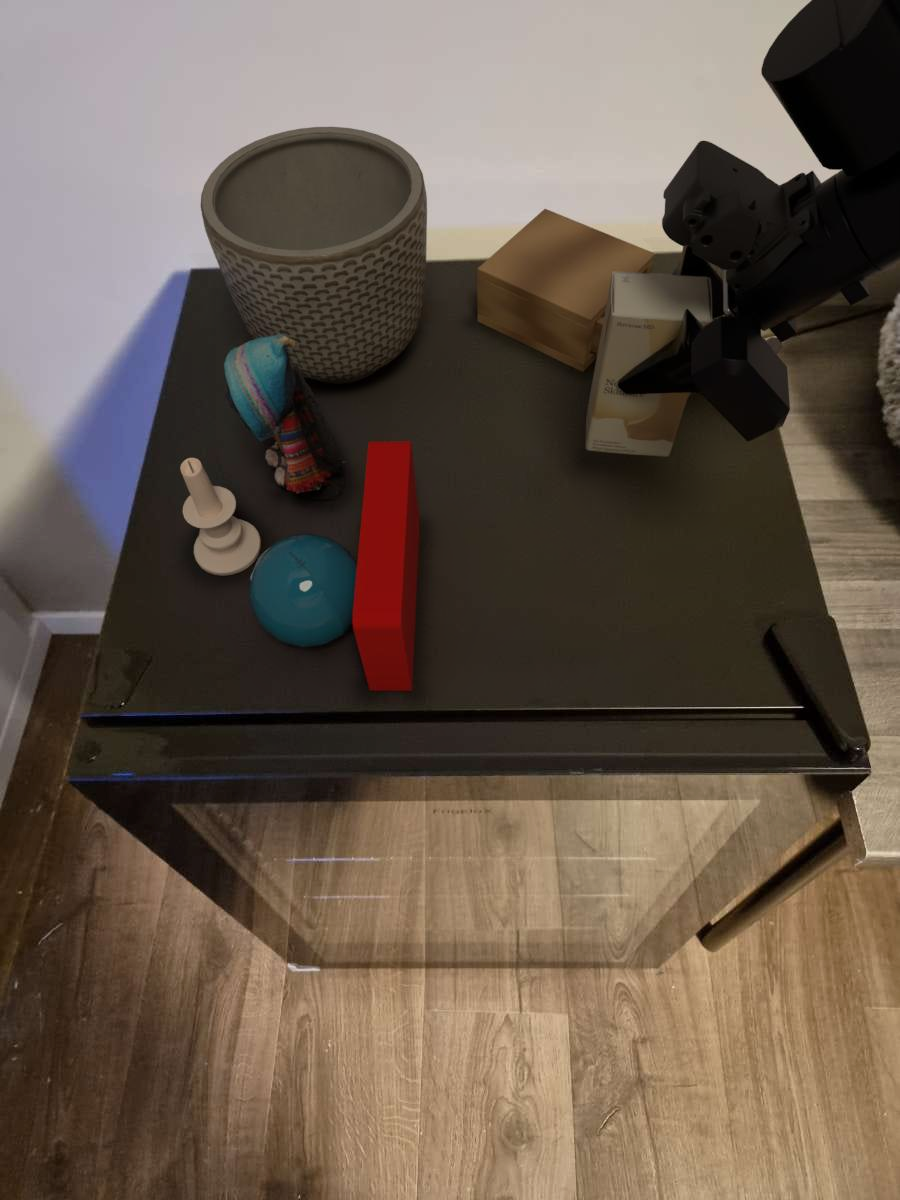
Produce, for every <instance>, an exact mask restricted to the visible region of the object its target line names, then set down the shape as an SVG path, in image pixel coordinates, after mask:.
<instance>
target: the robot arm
mask: <svg viewBox="0 0 900 1200" xmlns="http://www.w3.org/2000/svg"><path fill="white" fill-rule="evenodd" d="M761 65H762V66H761V69H760V70H761V71H760V72H761V73H760V74H761V76H762V77H763V79H764V81H765V82H766V83H767V85H768V87H769V88H770V89H771V91H772V93H773V94H774V96H775V97H776V99H777V100H778V101H779V103H780V105H781V106H782V108H783V109H784V111H785V112H786V114H787V115H788V116H789V118H790V120H791V121H792V123H793V124H794V126H795V127H796V129H797V131H798V132H799V133H800V135H801V137H802V138H803V139H804V141H805V143H806V144H807V145H808V147H809V148H810V150H811V151H812V153H813V154H814V156H815V157H816V159H817V160H818V162H819V164H820V165H821V166H822V167H823V168H825V169H827V170H831V171H832V170H833V171H838V172H837V173H834V174H833V175H831V176H830V177H829V178H826V179H824V181H822V182H821V180H820V179H819V178H818V176H817V174H816V172H815V171H814V170H811V171H810V172H808V173H806V172H800V173H798V174H797V175H795V176H794V177H792V178H791V179H789V180H788V181H786V182H783V183H781V184H778V183H776V182H775V181H773V180H772V179H771V178H769V177H767V176H766V174H764V172H762V171H761V170H760V169H759V168H757V167H755V166H754V165H752V164H750V163H748V162H746V161H745V160H743V159H741V158H739V157H738V156H736V155H734V154H733V153H731V152H729V151H727V150H726V149H723V147H720V146H719V145H716V144H715V143H713V142H711V141H707V140H700V141H698V142H697V144H696V145H695V147H694V148H693V150H691V152H690V154H689V155H688V157H687V158H686V159H685V161H684V162H683V164H682V165H681V167H680V168H679V169H678V171H677V172H676V173H675V175H674V176H673V178H672V179H671V180H670V182H669V183H668V184H667V186H666V187H665V189H664V190H663V196H662V197H663V199H664V200H665V201H664V213H663V216H662V219H661V227H662V231H663V232H664V234H665V235H666V237H668V239H670V240H671V241H673V243H676V244H677V245H679V246H681V247H682V250H681V256H680V260H679V263H678V265H677V266H676V268H675V269H674V270H673V272H672V273H671V275H681V276H697V277H708V278H710V279H711V287H712V322H711V323H709V324H707V325H706V326H704V327H703V325H702V324H701V323H700V322H699V321H698V320H697V319H696V318H695V316H694V315H693V314H692V313H691V312H690V311H689V310H688V309H686V310H685V312H684V315H683V319H682V323H681V326H680V330H679V334H678V336H677V337H676V338H675V339H674V340H672V341H671V342H669V343H668V344H667V345H665V346H664V347H662V348H661V349H660V350H658V351H657V352H655V353H654V354H652V355H651V356H650V357H648V358H647V359H645V360H644V361H643V362H641V363H640V364H638V365H637V366H636V367H634V368H633V369H632V370H630V371H629V372H628V373H627V374H626V375H624V376H623V377H622V378H621V379H620V380H619V381H618V387H619V388H620V389H621V390H622V391H623V392H624V393H625V394H655V393H692V394H701V395H702V396H703V397H704V399H706V400H707V401H708V402H709V404H711V406H712V407H713V408H714V409H715V410H716V411H717V412H718V413H719V414H720V415H721V416H722V417H723V418H724V419H725V420H726V422H728V423H729V424H730V426H732V428H734V430H735V431H736V432H737V433H738V434H739V435H740V436H741V437H742V438H743V439H744V440H745V441H746V442H748V443H749V442H751V441H753V440H756V439H758V438H760V437H762V436H764V435H767V434H768V433H771V432H773V431H775V430H777V429H780V428H782V427H783V426H784V424H785V423H786V420H787V417H788V415H789V413H790V411H791V404H790V387H789V373H788V366H787V365H786V363H785V362H784V361H783V360H782V359H781V358H780V357H779V355H778V354H776V353H775V352H774V351H773V350H772V348H771V347H770V346H769V345H768V344H767V342H766V341H767V340H766V341H765V340H764V339H765V338H764V337H762V331H763V332H766V331H768V330H770V331H771V332H772V334H773V335H774V337H775V338H778V340H779V341H780V342H782V343H783V342H785V341H787V340H789V339H791V338H792V337H794V336H796V335H798V327H797V326H798V325H797V323H798V322H797V318H798V317H800V316H802V315H804V314H807V313H808V312H809V311H811V310H813V309H815V308H817V307H818V306H821V305H822V304H824V303H826V302H828V301H829V300H831V299H833V298H835V297H837V296H839V295H840V294H841V295H842V296H843V297H844V299H846V301H847V302H848V304H849V305H850V306H853V305H855V304H857V303H859V302H861V301H863V300H865V299H867V298H868V297H870V291H869V285H868V280H869V279H870V278H872V277H873V276H876V275H877V274H879V273H880V272H882V271H884V270H886V269H888V268H890V267H892V266H893V265H896V264H897V263H900V0H809V2H808V3H807V4H806V5H805V6H803V7H802V8H801V9H800V10H799V11H798V12H797V13H796V14H795V15H794V16H793V18H791V20H789V21H788V23H787V24H786V25H785V26H784V28H783V29H782V30H781V31H780V32H779V33H778V35H777V36H776V38H775V39H774V41H773V42H772V44H771V45H770V47H769V48H768V50H767V52H766V54H765V57H764V58H763V61H762V64H761ZM723 315H725V316H723Z"/></svg>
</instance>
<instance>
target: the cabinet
mask: <svg viewBox="0 0 900 1200" xmlns="http://www.w3.org/2000/svg"><path fill="white" fill-rule="evenodd" d="M655 255H656V253H655V252H652V251H650V250H648V249H645V248H643V247H640V246H637V245H635V244H633V243H631V242H628V241H626V240H624V239H622V238H621V239H620V238H618V237H615V236H613V235H611V234H608V233H606V232H604V231H601V230H599V229H596V228H594V227H591V226H589V225H587V224H584V223H582V222H580V221H577V220H574V219H572V218H570V217H567V216H565V215H562V214H560V213H557V212H554V211H553V210H549V209H547V208H544V209H542V210H541V211H540V212H539V213H538V214H537V215H536V216H535V217H534V218H532V219H531V220H530V221H529V222H527V224H526V225H525V226H523V227H522V228H521V229H520V230H519V231H518V232H517V233H516V234H515V235H513V236H512V237H511V238H510V239H509V240H508V241H506V243H504V244H503V246H501V247H500V248H499V249H498V250H497V251H495V253H493V254H491V256H490V257H488V258H487V259H486V261H484V262H483V263H481V265H480V266H478V267H477V277H476V281H477V283H476V284H477V285H476V286H477V289H476V290H477V291H476V292H477V293H476V299H477V300H476V302H477V304H476V305H477V306H476V307H477V310H476V312H477V315H476V317H477V319H476V320H477V323H479V324H482V325H484V326H486V327H488V328H490V329H492V330H494V331H496V332H498V333H500V334H503V335H504V336H507V337H509V338H511V339H513V340H515V341H517V342H519V343H522V344H523V345H525V346H526V347H527V346H528V347H530V348H531V349H533V350H536V351H538V352H539V353H541V354H545V355H546V356H548V357H550V358H553V359H555V360H557V361H558V362H561V363H562V364H565V365H567V366H569V367H571V368H573V369H575V370H577V371H579V372H581V373H584V372H585V371H586V370H587V369H588V368H589V366H590V365H591V364H592V363H593V362H594V361H596V359H597V354H596V353H594V352H592V351H591V344H592V338H593V331H594V325H595V322H596V320H597V319H598V318H599V317H600V316H601V315H602V314H603V313H604V312H605V311H606V305H607V300H608V294H609V289H610V283H611V277H612V273H613V272H614V271H617V272H630V273H652V270H653V264H654V260H655Z"/></svg>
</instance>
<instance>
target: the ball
mask: <svg viewBox="0 0 900 1200" xmlns="http://www.w3.org/2000/svg"><path fill="white" fill-rule="evenodd" d="M357 563H358V562H356V560H355V559H354V557H353V556H352V554H351V553H350V551H349V550H348V549H347V548H346V547H344V546H343V545H341V544H340V543H338V542H336V541H335V540H333V539H331V538H329V537H327V536H323V535H320V534H319V535H318V534H313V533H301V534H294V535H289V536H286V537H285V538H282V539H280V540H278V541H276V542H274V543H272V544H271V545H269V547H268V548H267V549H266V550H265V551H264V552H263V553H262V554H261V555H259V556H258V558H257V561H256V563H255V565H254V567H253V570H252V572H251V574H250V576H249V583H248V586H249V588H248V590H249V591H248V592H249V604H250V607H251V610H252V612H253V614H254V615H255V618H256V619H257V621H258V623H259V624H260V626H261V628H262V629H263V630H264V631H265V632H266V633H268V634H269V635H271V636H273V637H274V638H276V639H277V640H278V641H280V642H281V643H283V644H285V645H289V646H295V647H299V648H304V649H305V648H313V647H318V646H320V647H321V646H326V645H327V644H329V643H331V642H333V641H335V640H337V639H338V638H340V637H342V636H344V634H345V633H346V632H347V631H348V630H349V629H350V628H351V626H353V606H354V595H355V585H356V574H357Z"/></svg>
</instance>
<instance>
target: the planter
mask: <svg viewBox="0 0 900 1200" xmlns="http://www.w3.org/2000/svg"><path fill="white" fill-rule="evenodd" d="M424 179H425V178H424V173H423V171H422V170H421V167H420V165H419V163H418V162H417V161H416V159H415V157H413V155H412V154H411V153H410V152H409V151H408V150H406V149H405V148H404V147H403V146H401V145H399V144H397V142H395V141H393V140H391V139H390V138H386V137H385V136H382V135H380V134H377V133H373V132H370V131H367V130H363V129H357V128H351V127H341V126H313V127H312V126H311V127H302V128H296V129H291V130H285V131H282V132H278V133H274V134H270V135H268V136H265V137H262V138H260V139H257V140H254V141H252V142H251V143H248V144H246V145H244V146H242V147H241V148H239V149H238V150H236V151H234V152H233V153H231V154H230V155H228V156H227V157H226V158H225V159H224V160H223V161H221V162H220V163H219V164H218V165H217V166H216V167H215V169H214V170H212V172H211V173H210V175H209V176H208V178H207V180H206V181H205V183H204V185H203V188H202V191H201V195H200V211H201V217H202V221H203V226H204V230H205V234H206V237H207V238H208V243H209V245H210V247H211V249H212V253H213V254H214V257H215V259H216V262H217V264H218V267H219V270H220V272H221V274H222V277H223V280H224V283H225V285H226V287H227V289H228V291H229V294H230V296H231V299H232V301H233V303H234V304H235V307H236V310H237V311H238V314H239V315H240V318H241V319H242V322H243V323H244V325H245V327H246V329H247V331H248V333H249V335H250V336H251V338H252V340H255V339H258V338H260V337H271V336H275V335H277V334H282V335H285V336H286V337H288V338H290V339H292V340H295V343H296V346H297V347H288V348H287V352H288V354H289V358H290V362H291V365H292V369H293V368H294V366H297V367H298V368H299V369H300V371H301V373H302V375H303V377H304V378H306V379H311V380H316V381H318V382H321V383H325V384H333V385H334V384H335V385H336V384H337V385H342V384H350V383H354V382H358V381H361V380H363V379H365V378H367V377H370V376H371V375H372V374H374V373H375V372H376V371H378V370H380V369H381V368H383V367H385V366H386V365H388V364H389V363H391V362H393V360H394V359H396V358H397V357H398V356H399V355H400V354H401V353H402V352H403V351H404V350H405V349H406V348H407V346H408V345H409V344H410V342H411V341H412V340H413V339H412V338H413V337H414V335H415V333H416V331H417V328H418V326H419V323H420V319H421V315H422V310H423V306H424V305H423V304H424V296H425V286H426V285H425V283H426V269H427V246H428V245H427V244H428V243H427V237H428V233H427V232H428V197H427V190H426V184H425V180H424Z"/></svg>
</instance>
